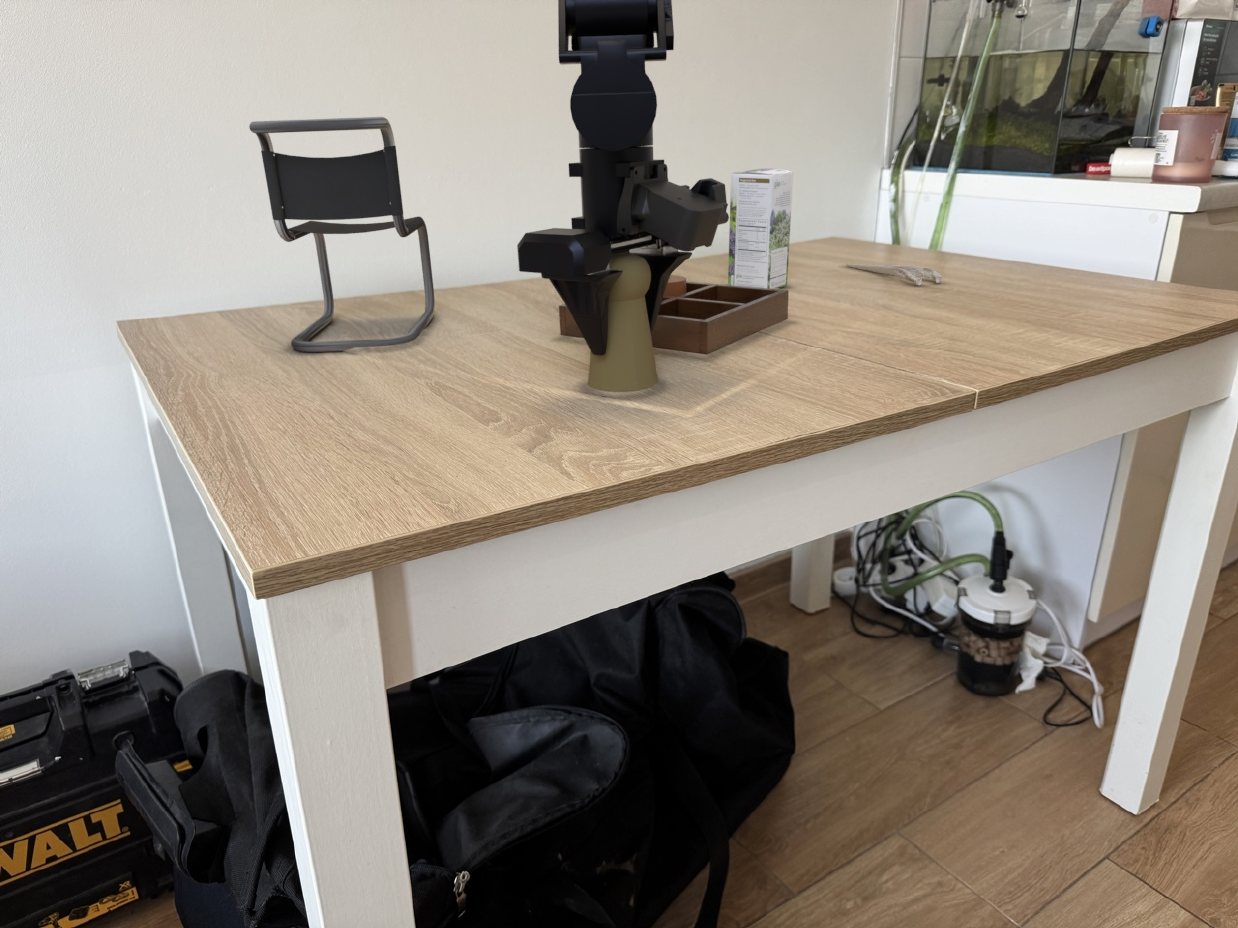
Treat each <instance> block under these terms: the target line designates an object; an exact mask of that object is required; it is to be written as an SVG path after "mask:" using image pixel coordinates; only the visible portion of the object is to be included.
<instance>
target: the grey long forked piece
mask: <svg viewBox="0 0 1238 928" xmlns="http://www.w3.org/2000/svg"><path fill="white" fill-rule="evenodd" d="M845 265H846V266H847V267H850V268H854V269H857V270H861V271H868V272H872V273H878V274H883V275H890V276H894V277H897V278H899V279H903V280H906V281H909V282H911V283H914V284H915V285H916V286H918V287H920V286H921V285H922V283H923V278H927V279H931V280H933V281H935V283H936V284H939V283H940V282H941V280H942V278H943V276H942V273H941V272H939V271H936V270H933V269H932V268H929V267H925V266H919V265H899V264H898V265H895V264H854V263H846V264H845ZM924 271H926V272H924Z"/></svg>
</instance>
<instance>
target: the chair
mask: <svg viewBox="0 0 1238 928" xmlns="http://www.w3.org/2000/svg"><path fill="white" fill-rule="evenodd" d="M248 129H249V131H251V133H253V134H255V136H256V137H257V139H258V141H259V144H260V149H261V150H260V153H261V158H262V164H263V169H264V175H265V179H266V180H265V181H266V185H267V186H266V187H267V192H268V199H269V204H270V210H271V216H272V220H273V224H274V227H275V230H276V232H277V234H278V236H279V237H280V238H281V239H282V240H283V241H284V242H286V243H290V242H291V243H292V242H293V241H296V240H298V239H300V238H302V237H305V236H307V235H309V234H310V235H311V234H313V239H314V242H315V248H316V255H317V261H318V268H319V275H320V281H321V287H322V295H323V303H324V304H323V305H324V306H323V307H324V308H323V314H322V315H321V316H320V317H319V318H317V319H316V320H315V321H314V322H312V323H311V324H310V325H309V326H308V327H306V328H305V329H303V330H302V331H300V333H298V334H297V335H295V336H294V337H293V338H292V340H291V342H290V345H291V347H292V348H293V350H295V351H297V352H303V353H326V352H329V353H330V352H344V351H347V350H351V349H355V348H374V347H375V348H376V347H389V346H390V347H391V346H397V345H403V344H406V343H410V342H412V341H414V340H416V339H418V337H419V335H420V334H421V332H422V331H423V330H424V329H425V328H427V326H428V324H429V323H430V322H431V320H432V319H433V317H434V315H435V307H436V306H435V305H436V304H435V303H436V302H435V300H436V299H435V288H434V280H433V270H432V262H431V261H432V260H431V250H430V242H429V234H428V228H427V225H426V222H425V220H424V219H423V218H422V216H414V217H409V218H405V217H404V207H403V198H402V191H401V181H400V171H399V164H398V155H397V147H396V143H395V137H394V136H395V135H394V132H393V127H392V126H391V123H390V121H389V119H387V118H386V117H384V116H365V117H337V118H334V117H333V118H312V119H311V118H310V119H309V118H307V119H283V120H256V121H251V122H250V123H249V126H248ZM361 130H362V131H363V130H364V131H365V130H380V134H381V137H382V142H383V149H380V150H375V151H371V152H367V153H362V154H354V155H346V156H336V157H335V156H333V157H311V156H310V157H309V156H300V155H289V154H285V153H280V152H275V151H274V147H273V143H272V139H271V136H270V134H279V133H281V134H283V133H284V134H285V133H307V132H308V133H309V132H311V133H312V132H332V131H333V132H334V131H336V132H337V131H361ZM390 216H391V217H392V220H391V221H385V222H371V223H370V222H369V223H339V222H328V221H342V220H360V219H370V218H371V219H373V218H380V217H390ZM286 220H293V221H306V222H303V223H300V224H297V225H295V226H292V227H288V225H287V223H286ZM326 221H327V222H326ZM389 229H390V230H391V229H395V230H396V231H395V232H396V233H397V234H398V236H399V237H400V238H408V237H409V236H410V235H411V234H413V233H414V232H417V236H418V243H419V252H420V260H421V269H422V270H421V271H422V278H423V290H424V300H425V301H424V302H425V303H424V304H425V306H424V312H423V313H422V314H421V316H420V317H419V318H418V319H417V321H416V322H415V323H414V325H413V326H412V327H411V328H410V329H409V331H408V332H407V333H406V334H404V335H399V336H395V337H388V338H371V339H368V338H367V339H348V340H347V339H346V340H345V339H344V340H322V341H321V340H320V341H309V340H310V339H311V338H313V337H314V336H315V335H316V334H318V333H319V332H320V331H321V330H323V329H324V328H325V327H326V326H328V325H329V324H330V323H331V322H332V320H333V318H334V312H335V301H334V300H335V299H334V292H333V285H332V279H331V278H332V277H331V272H330V266H329V259H328V253H327V245H326V240H325V235H351V234H362V233H363V234H364V233H372V232H378V231H379V232H380V231H384V230H385V231H386V230H389Z"/></svg>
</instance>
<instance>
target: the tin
mask: <svg viewBox="0 0 1238 928" xmlns="http://www.w3.org/2000/svg"><path fill="white" fill-rule="evenodd" d="M686 282H687V278H686V277H685V276H683V275H675V274H671V275H670V278H669V280H668V283H667V286H666V289H665V292H664V295H663V296H671V297H676V296H679V295H682V294H685V293H686Z"/></svg>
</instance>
